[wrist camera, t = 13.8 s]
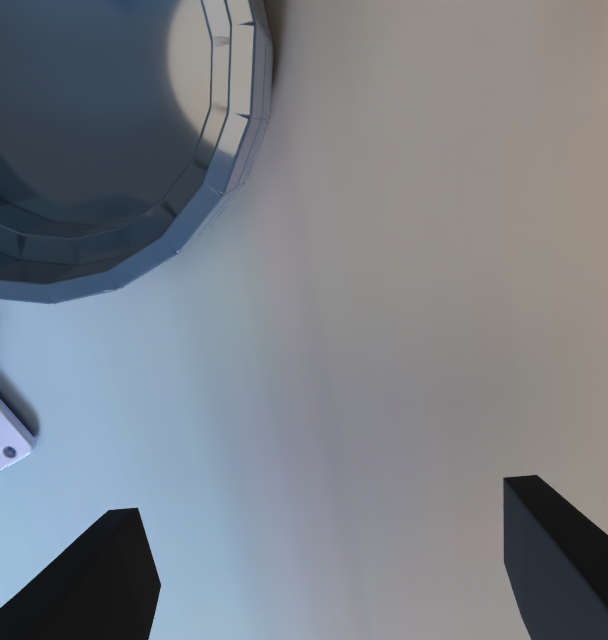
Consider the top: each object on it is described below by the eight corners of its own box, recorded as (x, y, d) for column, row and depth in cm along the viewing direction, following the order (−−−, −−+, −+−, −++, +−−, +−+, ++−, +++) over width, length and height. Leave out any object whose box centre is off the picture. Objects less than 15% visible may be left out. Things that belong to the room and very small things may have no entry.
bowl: (54, 322, 19) (-23, 377, 15) (-210, -9, 16) (-406, -58, 12) (347, 140, 16) (353, 145, 12) (106, -305, 13) (1, -512, 9)
